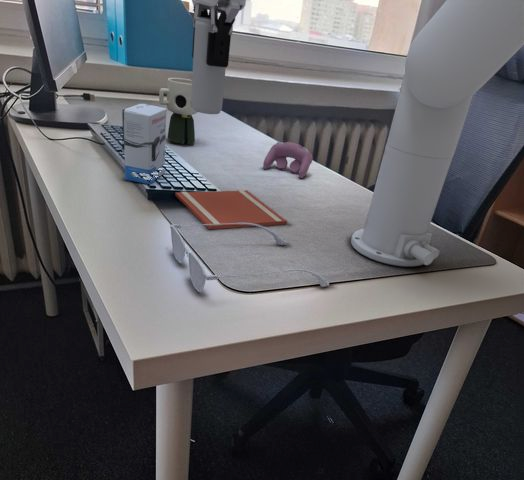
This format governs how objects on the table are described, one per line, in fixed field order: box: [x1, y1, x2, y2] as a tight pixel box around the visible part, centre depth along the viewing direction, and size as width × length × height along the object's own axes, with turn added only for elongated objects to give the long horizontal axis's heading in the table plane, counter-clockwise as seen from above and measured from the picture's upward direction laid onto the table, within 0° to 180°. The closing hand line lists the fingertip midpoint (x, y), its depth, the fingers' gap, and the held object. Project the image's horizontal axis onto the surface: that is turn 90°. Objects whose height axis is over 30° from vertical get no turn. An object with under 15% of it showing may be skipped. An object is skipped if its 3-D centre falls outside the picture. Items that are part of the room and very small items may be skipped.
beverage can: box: [191, 17, 227, 115], centre depth 75 cm, size 5×5×12 cm
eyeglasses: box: [169, 223, 330, 293], centre depth 68 cm, size 15×18×4 cm
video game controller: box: [262, 141, 314, 179], centre depth 110 cm, size 10×5×7 cm, turn 65°
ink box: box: [124, 103, 168, 185], centre depth 92 cm, size 8×5×12 cm, turn 168°
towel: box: [174, 189, 288, 230], centre depth 87 cm, size 15×14×1 cm
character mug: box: [158, 77, 198, 145], centre depth 115 cm, size 11×7×13 cm, turn 117°
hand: (209, 61), depth 75 cm, fingers closed on beverage can, 4 cm apart
